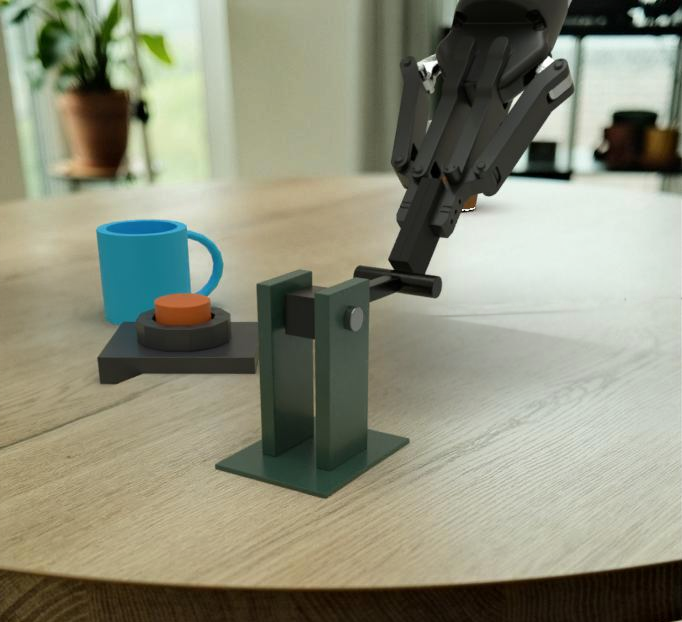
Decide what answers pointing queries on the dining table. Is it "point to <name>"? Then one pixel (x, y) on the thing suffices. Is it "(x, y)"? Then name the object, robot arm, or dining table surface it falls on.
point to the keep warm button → (182, 309)
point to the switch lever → (381, 285)
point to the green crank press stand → (298, 393)
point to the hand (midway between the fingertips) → (404, 272)
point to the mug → (147, 265)
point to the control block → (179, 348)
